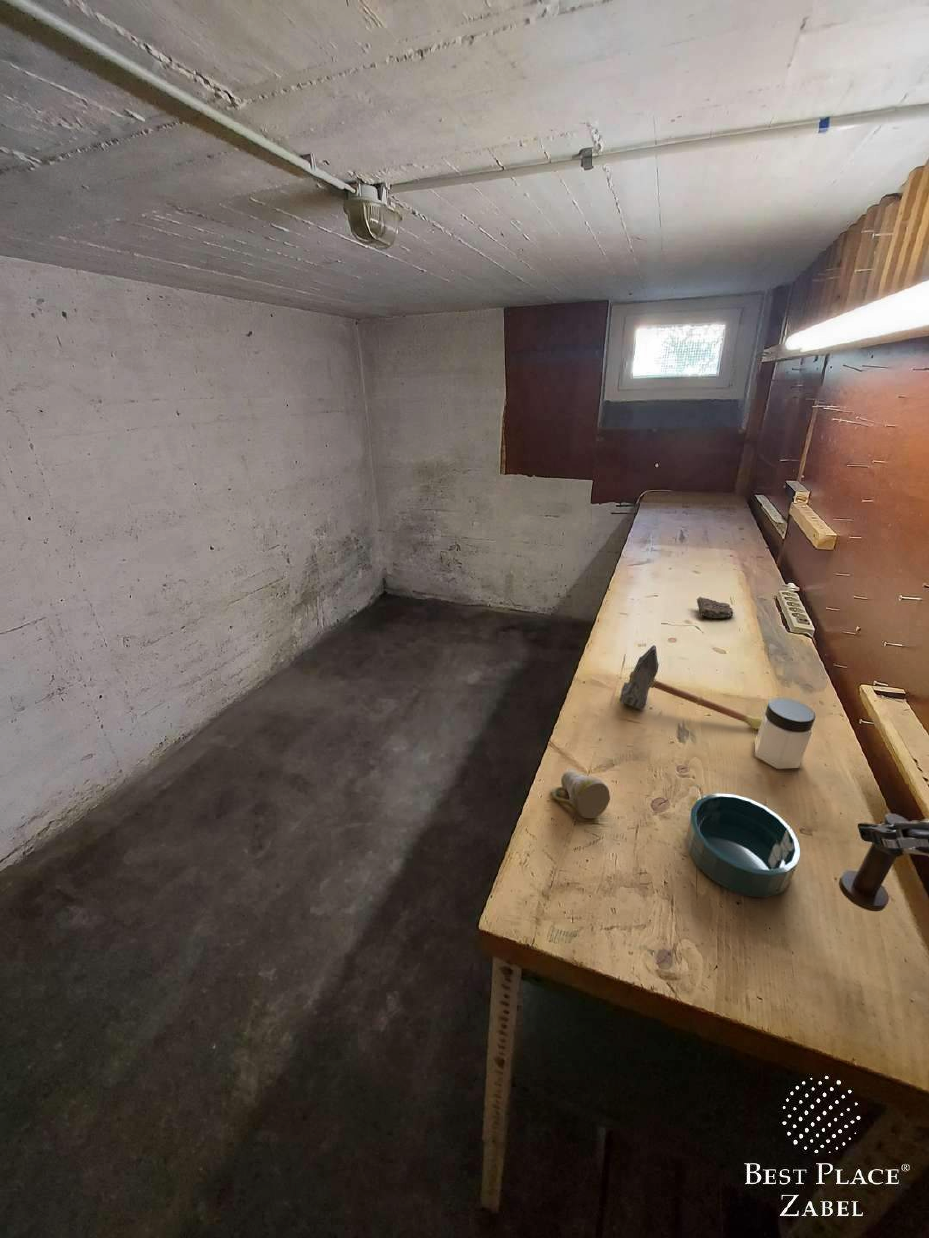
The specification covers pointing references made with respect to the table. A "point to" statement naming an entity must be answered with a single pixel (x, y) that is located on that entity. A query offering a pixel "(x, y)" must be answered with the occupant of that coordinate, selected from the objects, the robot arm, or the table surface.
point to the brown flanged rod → (870, 876)
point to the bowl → (742, 844)
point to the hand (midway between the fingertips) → (873, 830)
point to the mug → (584, 794)
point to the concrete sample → (714, 608)
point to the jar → (784, 733)
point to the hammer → (668, 690)
